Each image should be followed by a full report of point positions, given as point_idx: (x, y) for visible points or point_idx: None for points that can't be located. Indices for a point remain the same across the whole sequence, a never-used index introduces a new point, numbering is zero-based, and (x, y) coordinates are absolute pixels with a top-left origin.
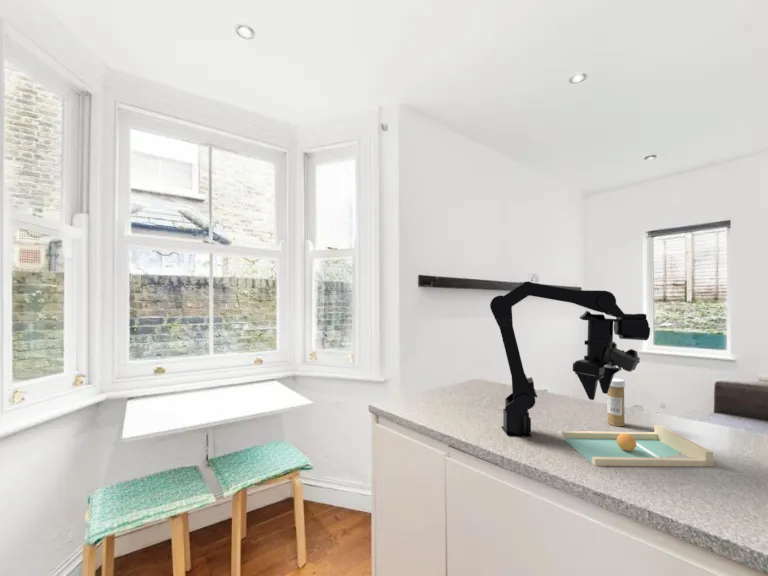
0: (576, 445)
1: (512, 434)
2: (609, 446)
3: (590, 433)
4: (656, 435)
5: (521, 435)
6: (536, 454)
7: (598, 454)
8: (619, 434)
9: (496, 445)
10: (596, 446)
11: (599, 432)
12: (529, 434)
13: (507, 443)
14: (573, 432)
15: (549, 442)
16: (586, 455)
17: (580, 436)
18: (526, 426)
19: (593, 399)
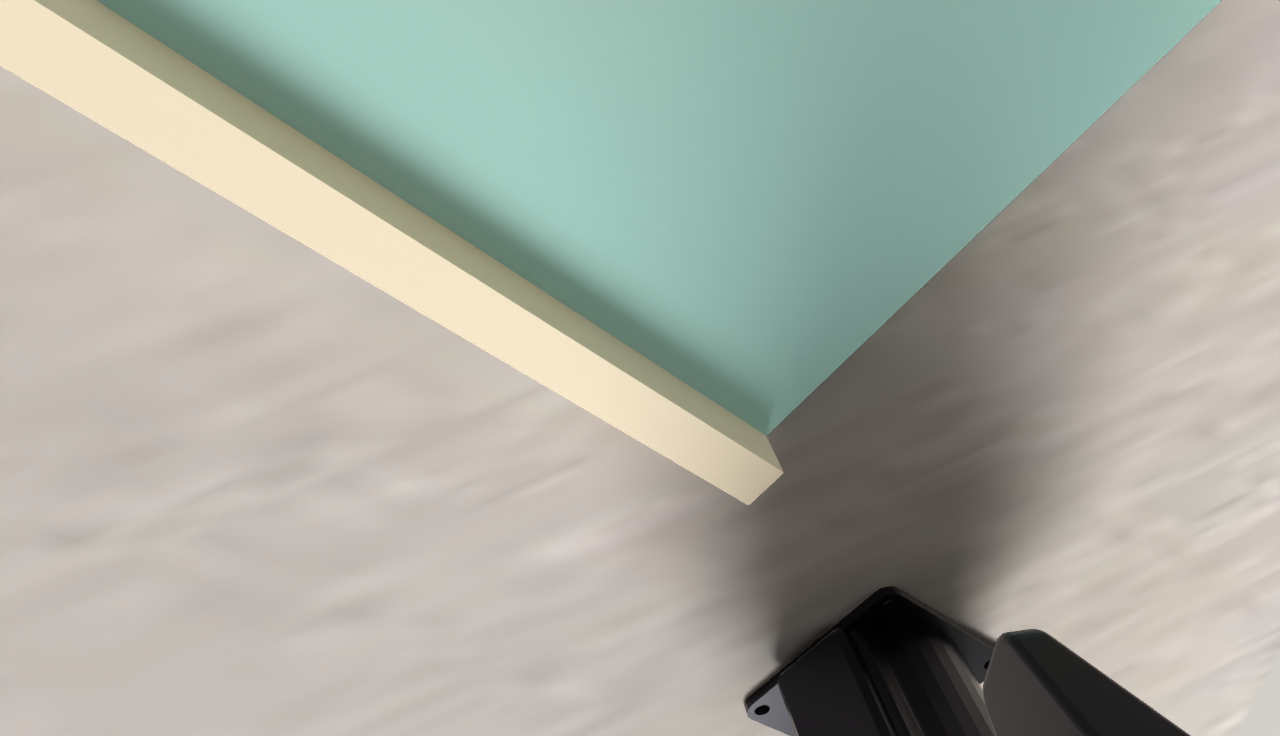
0: (876, 284)
1: (971, 658)
2: (609, 44)
3: (549, 324)
4: None
5: (945, 623)
6: (1228, 388)
7: (970, 30)
8: (176, 82)
9: (1217, 598)
10: (738, 146)
11: (415, 276)
12: (878, 610)
13: (1139, 587)
14: (693, 433)
15: (907, 459)
16: (1079, 105)
17: (639, 364)
18: (899, 683)
19: (1047, 635)
